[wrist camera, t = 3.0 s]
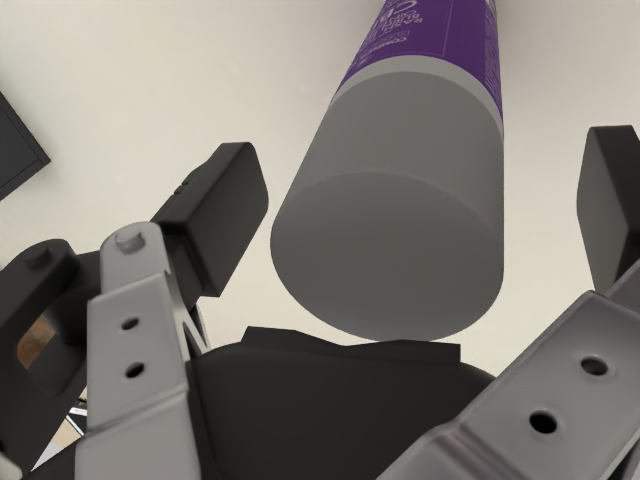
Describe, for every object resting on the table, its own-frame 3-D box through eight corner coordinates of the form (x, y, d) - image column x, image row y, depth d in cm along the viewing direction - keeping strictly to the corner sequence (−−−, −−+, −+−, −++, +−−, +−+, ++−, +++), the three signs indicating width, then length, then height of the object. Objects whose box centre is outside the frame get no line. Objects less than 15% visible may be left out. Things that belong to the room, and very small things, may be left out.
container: (418, -64, 18) (319, 112, 7) (522, -1, 19) (575, 251, 8) (362, 47, 21) (235, 283, 10) (452, 97, 22) (420, 375, 11)
